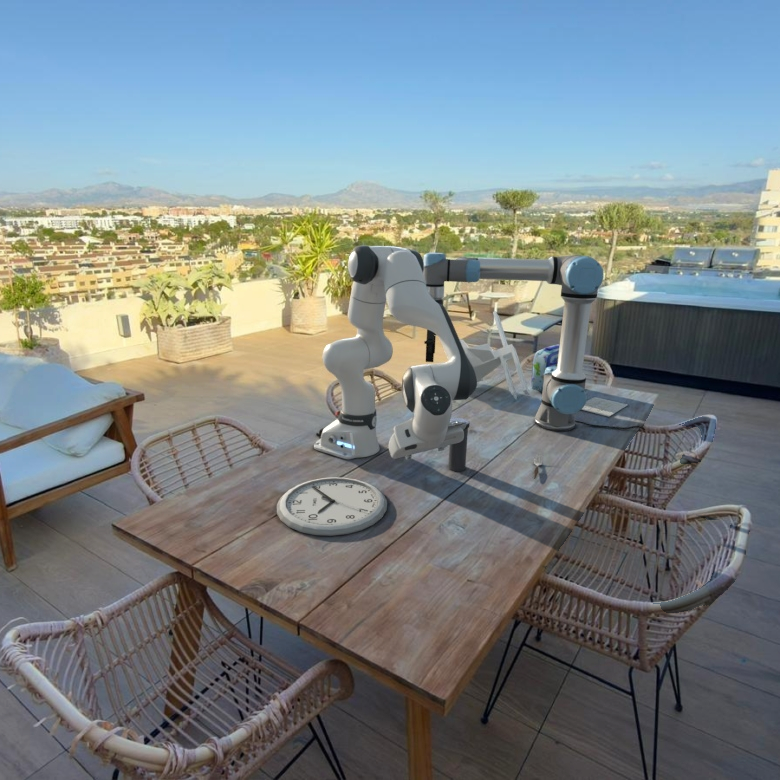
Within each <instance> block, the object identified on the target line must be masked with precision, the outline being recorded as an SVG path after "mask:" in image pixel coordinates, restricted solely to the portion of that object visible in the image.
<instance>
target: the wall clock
mask: <svg viewBox="0 0 780 780" xmlns="http://www.w3.org/2000/svg"><path fill="white" fill-rule="evenodd" d="M387 509H388V500H387V498H386V496H385V494H384V493H383V492H382V491H381V490H380V489H379V488H377V487H376V486H374V485H372V484H371V483H369V482H365V481H362V480H359V479H355V478H349V477H338V476H337V477H335V476H333V477H332V476H331V477H322V478H317V479H312V480H307V481H305V482H302V483H299V484H297V485H295V486H293V487H292V488H290V489H288V490H287V491H286V492H285V493H284V494H283V495H281V496H280V498H279V499H278V502H277V503H276V515H277V517H278V518H279V520H280V521H281V522H282V523H283V524H285V525H286V526H287V527H288V528H290V529H293V530H295V531H297V532H299V533H303V534H308V535H312V536H327V537H328V536H329V537H331V536H332V537H333V536H342V535H350V534H352V533H356V532H361V531H363V530H366V529H368V528H369V527H372V526H373V525H375V524H376V523H378V522H379V521H380V520H381V519H382V518H383V517H384V516H385V514H386V512H387Z"/></svg>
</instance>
